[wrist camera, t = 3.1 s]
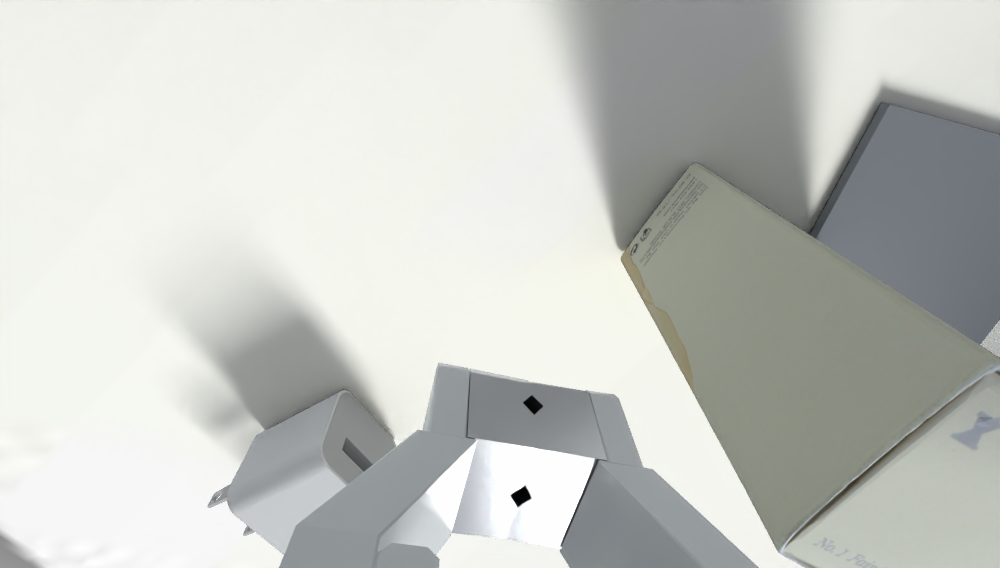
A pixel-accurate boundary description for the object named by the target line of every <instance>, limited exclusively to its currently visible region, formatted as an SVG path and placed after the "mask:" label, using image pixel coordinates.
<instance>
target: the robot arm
mask: <svg viewBox="0 0 1000 568" xmlns="http://www.w3.org/2000/svg"><path fill="white" fill-rule="evenodd" d="M451 533H458V534H467V535H476V536H484V537H493V538H502V539H508V540H514V541H520V542H526V543H531V544H537V545H543V546H548V547H554V548H560V549H561V550H560V552H561V554H562V556H563V557H564V559H565V560H566V562H567V564H568V565H569V567H570V568H759V567H757V566H756V565H755V564H754V563H753V562H752V561H751V560H750V559H749V558H748V557H747V556H746V555H745V554H743V553H742V552H741V551H740V550H739V549H738V548H737V547H736V546H735V545H734V544H733V543H732V542H731V541H729V540H728V539H727V538H726V537H725V536H724V535H723V534H722V533H721V532H720V531H719V530H718V529H716V528H715V527H714V526H713V525H712V524H711V523H710V522H709V521H708V520H707V519H706V518H705V517H704V516H702V515H701V514H700V513H699V512H698V511H697V510H696V509H695V508H694V507H693V506H692V505H691V504H690V503H688V502H687V501H686V500H685V499H684V498H683V497H682V496H681V495H680V494H679V493H678V492H677V491H675V490H674V489H673V488H672V487H671V486H670V485H669V484H668V483H667V482H666V481H665V480H664V479H663V478H661V477H660V476H659V475H658V474H657V473H656V472H655V471H654V470H653V469H648V468H643V465H642V462H641V459H640V457H639V454H638V451H637V448H636V445H635V443H634V440H633V437H632V434H631V431H630V429H629V426H628V423H627V420H626V417H625V415H624V412H623V409H622V406H621V403H620V401H619V398H618V397H617V396H615V395H614V394H607V393H600V392H594V391H587V390H586V391H582V390H576V389H570V388H565V387H559V386H553V385H547V384H541V383H535V382H529V381H528V380H523V379H518V378H513V377H508V376H504V375H499V374H494V373H489V372H484V371H479V370H474V369H468V368H464V367H459V366H454V365H448V364H443V363H438V366H437V369H436V373H435V377H434V382H433V386H432V391H431V395H430V399H429V404H428V408H427V413H426V417H425V422H424V426H423V431H422V430H417V431H416V432H414V433H413V434H412V435H411V436H409V437H408V438H407V439H405V440H404V441H403V442H402V443H400V444H399V445H398V446H397V447H395V448H394V449H393V450H391V451H390V452H389V453H388V454H386V455H385V456H384V457H382V458H381V459H380V460H379V461H377V462H376V463H375V464H374V465H372V466H371V467H370V468H368V469H367V470H366V471H365V472H363V473H362V474H361V475H359V476H358V477H357V478H356V479H354V480H353V481H352V482H351V483H349V484H348V485H347V486H345V487H344V488H343V489H342V490H340V491H339V492H338V493H336V494H335V495H334V496H333V497H331V498H330V499H329V500H328V501H326V502H325V503H324V504H322V505H321V506H320V507H319V508H317V509H316V510H315V511H313V512H312V513H311V514H310V515H308V516H307V517H306V518H304V519H303V520H302V521H301V522H299V523H298V524H297V525H296V526H295V529H294V531H293V534H292V537H291V539H290V542H289V544H288V547H287V549H286V552H285V554H284V557H283V559H282V562H281V565H280V567H279V568H439V558H438V557H437V556H436V554H437V553H438V552H439V550H440V549H441V548H442V546H443V545H444V544H445V542H446V541H447V540H448V539H449V537H450V536H451Z"/></svg>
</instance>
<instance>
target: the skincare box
mask: <svg viewBox="0 0 1000 568" xmlns="http://www.w3.org/2000/svg"><path fill="white" fill-rule="evenodd" d="M621 262H622V263H623V265H624V267H625V269H626V271H627V273H628V274H629V276H630V278H631V280H632V282H633V283H634V285H635V287H636V289H637V291H638V293H639V294H640V296H641V298H642V300H643V302H644V304H645V305H646V307H647V309H648V311H649V313H650V314H651V316H652V318H653V320H654V322H655V324H656V325H657V327H658V329H659V331H660V333H661V335H662V336H663V338H664V340H665V342H666V344H667V346H668V347H669V349H670V351H671V353H672V355H673V357H674V359H675V361H676V362H677V364H678V366H679V368H680V370H681V372H682V373H683V375H684V377H685V379H686V381H687V382H688V384H689V386H690V388H691V390H692V392H693V394H694V395H695V397H696V399H697V401H698V403H699V405H700V407H701V409H702V410H703V412H704V414H705V416H706V418H707V420H708V422H709V423H710V425H711V427H712V429H713V431H714V433H715V435H716V436H717V438H718V440H719V442H720V444H721V446H722V447H723V449H724V451H725V453H726V455H727V457H728V458H729V460H730V462H731V464H732V466H733V468H734V470H735V472H736V473H737V475H738V477H739V479H740V481H741V483H742V484H743V486H744V488H745V490H746V492H747V494H748V496H749V498H750V500H751V502H752V503H753V505H754V507H755V509H756V511H757V513H758V515H759V517H760V519H761V520H762V522H763V524H764V526H765V528H766V530H767V532H768V534H769V536H770V538H771V540H772V542H773V544H774V546H775V548H776V549H777V551H778V552H779V553H780V554H782V555H783V556H785V557H786V558H788V559H790V560H792V561H794V562H796V563H798V564H799V565H801V566H803V567H805V568H1000V358H999V357H998V356H996V355H994V354H993V353H991V352H990V351H988V350H987V349H985V348H984V347H982V346H981V345H979V344H978V343H976V342H975V341H973V340H971V339H970V338H968V337H967V336H965V335H964V334H962V333H961V332H959V331H958V330H956V329H955V328H953V327H951V326H950V325H948V324H947V323H945V322H944V321H942V320H941V319H939V318H938V317H936V316H934V315H933V314H931V313H930V312H928V311H927V310H925V309H924V308H922V307H920V306H919V305H917V304H916V303H914V302H913V301H911V300H910V299H908V298H907V297H905V296H903V295H902V294H900V293H899V292H897V291H896V290H894V289H893V288H891V287H889V286H888V285H886V284H885V283H883V282H882V281H880V280H879V279H877V278H875V277H874V276H872V275H871V274H869V273H868V272H866V271H865V270H863V269H862V268H860V267H858V266H857V265H855V264H854V263H852V262H851V261H849V260H848V259H846V258H845V257H843V256H841V255H840V254H838V253H837V252H835V251H834V250H832V249H831V248H829V247H828V246H826V245H824V244H823V243H821V242H820V241H818V240H817V239H815V238H814V237H812V236H810V235H809V234H807V233H806V232H804V231H803V230H801V229H800V228H798V227H796V226H795V225H793V224H792V223H790V222H789V221H787V220H785V219H784V218H782V217H781V216H779V215H778V214H776V213H774V212H773V211H771V210H770V209H768V208H767V207H765V206H764V205H762V204H761V203H759V202H758V201H756V200H755V199H753V198H751V197H750V196H748V195H747V194H745V193H744V192H742V191H741V190H739V189H737V188H736V187H734V186H733V185H731V184H730V183H728V182H727V181H725V180H724V179H722V178H721V177H719V176H718V175H716V174H714V173H713V172H711V171H710V170H708V169H707V168H705V167H703V166H702V165H700V164H698V163H693V164H691V165H690V166H689V168H688V169H687V170H686V172H685V173H684V174H683V176H682V177H681V178H680V179H679V180H678V182H677V183H676V184H675V185H674V187H673V188H672V189H671V191H670V192H669V193H668V194H667V196H666V197H665V198H664V200H663V201H662V202H661V204H660V205H659V206H658V207H657V209H656V210H655V211H654V213H653V214H652V215H651V216H650V218H649V219H648V220H647V222H646V223H645V224H644V226H643V227H642V228H641V230H640V231H639V233H638V234H637V235H636V236H635V238H634V239H633V241H632V242H631V243H630V245H629V246H628V248H627V249H626V250H625V252H624V253H623V255H622V256H621Z"/></svg>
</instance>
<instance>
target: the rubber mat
mask: <svg viewBox="0 0 1000 568" xmlns="http://www.w3.org/2000/svg"><path fill="white" fill-rule="evenodd" d="M810 236H812V237H814V238H815V239H817V240H818V241H820V242H821V243H823V244H824V245H826V246H828V247H829V248H831V249H832V250H834V251H835V252H837V253H838V254H840V255H841V256H843V257H845V258H846V259H848V260H849V261H851V262H852V263H854V264H855V265H857V266H858V267H860V268H862V269H863V270H865V271H866V272H868V273H869V274H871V275H872V276H874V277H875V278H877V279H879V280H880V281H882V282H883V283H885V284H886V285H888V286H889V287H891V288H893V289H894V290H896V291H897V292H899V293H900V294H902V295H903V296H905V297H907V298H908V299H910V300H911V301H913V302H914V303H916V304H917V305H919V306H920V307H922V308H924V309H925V310H927V311H928V312H930V313H931V314H933V315H934V316H936V317H938V318H939V319H941V320H942V321H944V322H945V323H947V324H948V325H950V326H951V327H953V328H955V329H956V330H958V331H959V332H961V333H962V334H964V335H965V336H967V337H968V338H970V339H971V340H973V341H975V342H976V343H978V344H979V345H980V344H981V343H982V341H983V340H984V339H985V337H986V336H987V335H988V334H989V332H990V331H991V330H992V329H993V327H994V326H995V325H996V323H997V322H998V321H999V320H1000V135H999V134H996V133H992V132H989V131H985V130H981V129H978V128H974V127H970V126H967V125H963V124H960V123H956V122H952V121H949V120H945V119H942V118H938V117H934V116H931V115H927V114H923V113H920V112H916V111H913V110H909V109H905V108H902V107H898V106H895V105H891V104H887V103H881V104H880V106H879V108H878V110H877V112H876V114H875V115H874V117H873V119H872V121H871V123H870V125H869V126H868V128H867V130H866V132H865V134H864V136H863V137H862V139H861V141H860V143H859V145H858V147H857V148H856V150H855V152H854V154H853V156H852V158H851V160H850V161H849V163H848V165H847V167H846V169H845V171H844V172H843V174H842V176H841V178H840V180H839V182H838V183H837V185H836V187H835V189H834V191H833V193H832V194H831V196H830V198H829V200H828V202H827V204H826V205H825V207H824V209H823V211H822V213H821V215H820V216H819V218H818V220H817V222H816V224H815V226H814V227H813V229H812V231H811V233H810Z"/></svg>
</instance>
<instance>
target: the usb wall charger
mask: <svg viewBox="0 0 1000 568" xmlns="http://www.w3.org/2000/svg"><path fill="white" fill-rule="evenodd" d="M395 447H396V444H395V442H394V440H393V438H392V437H391V436H390V435H389V434H388V433H387V431H386V430H385V429H384V428H383V427H382V426H381V425H380V424H379V423H378V422H377V421H376V420H375V418H374V417H373V416H372V415H371V414H370V413H369V412H368V411H367V410H366V409H365V408H364V407H363V406H362V404H361V403H360V402H359V401H358V400H357V399H356V398H355V397H354V396H353V395H352V394H351V393H350V392H349V391H347V390H342V391H340V392H338V393H336V394H334V395H332V396H330V397H329V398H327V399H325V400H323V401H321V402H319V403H317V404H315V405H313V406H311V407H309V408H308V409H306V410H304V411H302V412H300V413H298V414H296V415H294V416H292V417H290V418H288V419H287V420H285V421H283V422H281V423H279V424H277V425H275V426H273V427H271V428H269V429H267V430H266V431H264V432H262V433H260V434H258V435H257V436H256V437H255V439H254V441H253V443H252V445H251V446H250V448H249V450H248V452H247V454H246V456H245V458H244V460H243V462H242V464H241V466H240V468H239V469H238V471H237V473H236V475H235V477H234V479H233V481H232V483H231V484H230V485H228V486H227V487H225V488H223V489H221V490H220V491H218V492H216V493H215V494H214V495H213V497H212V499H211V501H210V503H209V504H208V508H211V507H213V506H215V505H218V504H220V503H222V502H225V501H227V502H228V506H229V508H230V510H231V512H232V513H233V514H234V515H235V516H236V517H238V518H239V519H240V520H241V521H242V522H244V523H245V524H246V525H247V527H246V529H245V531H244V534H243V535H244V536H247V535H249V534H251V533H254V532H256V533H257V534H259V535H260V536H261V537H262V538H264V539H265V540H266V541H267V542H269V543H270V544H271V545H272V546H274V547H275V548H276V549H277V550H279V551H280V552H281V553H282V554H285V552H286V549H287V547H288V544H289V542H290V539H291V537H292V534H293V531H294V529H295V526H296V525H297V524H298V523H299V522H301V521H302V520H303V519H304V518H306V517H307V516H308V515H310V514H311V513H312V512H313V511H315V510H316V509H317V508H319V507H320V506H321V505H322V504H324V503H325V502H326V501H328V500H329V499H330V498H331V497H333V496H334V495H335V494H336V493H338V492H339V491H340V490H342V489H343V488H344V487H345V486H347V485H348V484H349V483H351V482H352V481H353V480H354V479H356V478H357V477H358V476H359V475H361V474H362V473H363V472H365V471H366V470H367V469H368V468H370V467H371V466H372V465H374V464H375V463H376V462H377V461H379V460H380V459H381V458H382V457H384V456H385V455H386V454H388V453H389V452H390V451H391V450H393V449H394V448H395ZM221 494H222V495H221ZM220 495H221V496H220ZM219 496H220V497H219ZM218 497H219V498H218ZM217 498H218V499H217ZM216 499H217V500H216Z"/></svg>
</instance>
